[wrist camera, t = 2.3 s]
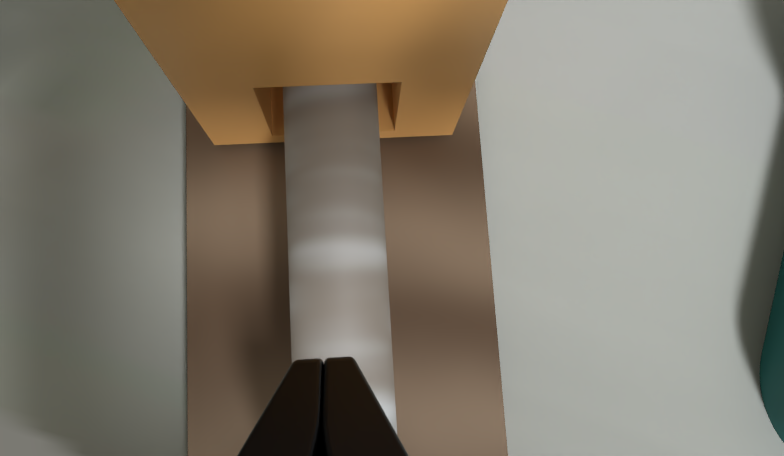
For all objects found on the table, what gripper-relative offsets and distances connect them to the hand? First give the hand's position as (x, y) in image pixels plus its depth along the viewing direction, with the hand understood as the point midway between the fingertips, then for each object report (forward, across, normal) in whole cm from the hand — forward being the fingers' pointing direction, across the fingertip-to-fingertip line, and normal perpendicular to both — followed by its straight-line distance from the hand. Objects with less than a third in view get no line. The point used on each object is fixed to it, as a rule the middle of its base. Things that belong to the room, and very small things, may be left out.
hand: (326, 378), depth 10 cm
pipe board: (+15, 0, +4) cm, 15 cm away
